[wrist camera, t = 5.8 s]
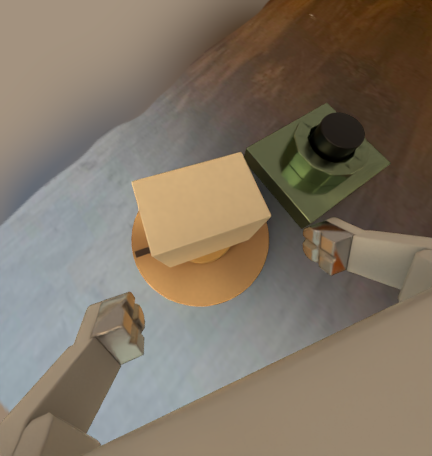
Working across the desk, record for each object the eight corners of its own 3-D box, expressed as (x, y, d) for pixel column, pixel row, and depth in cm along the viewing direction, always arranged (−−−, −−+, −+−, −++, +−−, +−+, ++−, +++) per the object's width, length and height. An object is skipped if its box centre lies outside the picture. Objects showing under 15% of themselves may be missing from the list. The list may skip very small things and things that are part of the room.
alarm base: (317, 115, 22) (338, 85, 19) (376, 173, 20) (410, 150, 17) (242, 159, 19) (250, 132, 16) (301, 229, 18) (324, 215, 14)
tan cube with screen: (156, 215, 15) (128, 172, 10) (225, 193, 16) (238, 144, 11) (174, 275, 14) (154, 267, 8) (248, 248, 15) (276, 225, 9)
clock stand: (124, 201, 17) (117, 192, 16) (236, 169, 19) (239, 159, 18) (156, 327, 14) (151, 331, 13) (284, 276, 16) (292, 274, 15)
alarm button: (329, 122, 18) (342, 105, 16) (357, 150, 17) (374, 135, 15) (300, 139, 17) (311, 123, 15) (329, 169, 16) (344, 155, 14)
